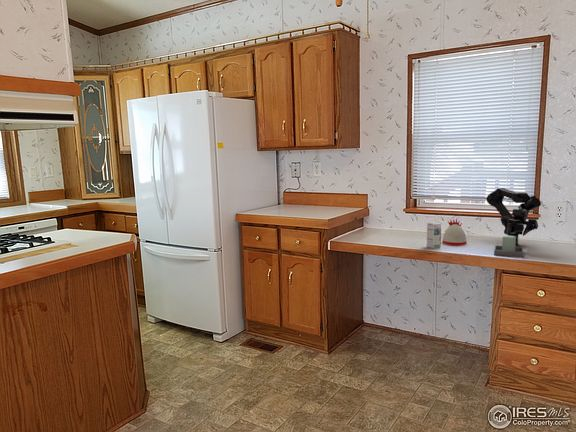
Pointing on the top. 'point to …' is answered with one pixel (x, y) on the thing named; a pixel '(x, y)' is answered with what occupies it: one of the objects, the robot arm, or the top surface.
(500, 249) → the tray
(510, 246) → the sage block
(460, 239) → the cream dome with spikes
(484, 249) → the top surface
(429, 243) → the syrup box
